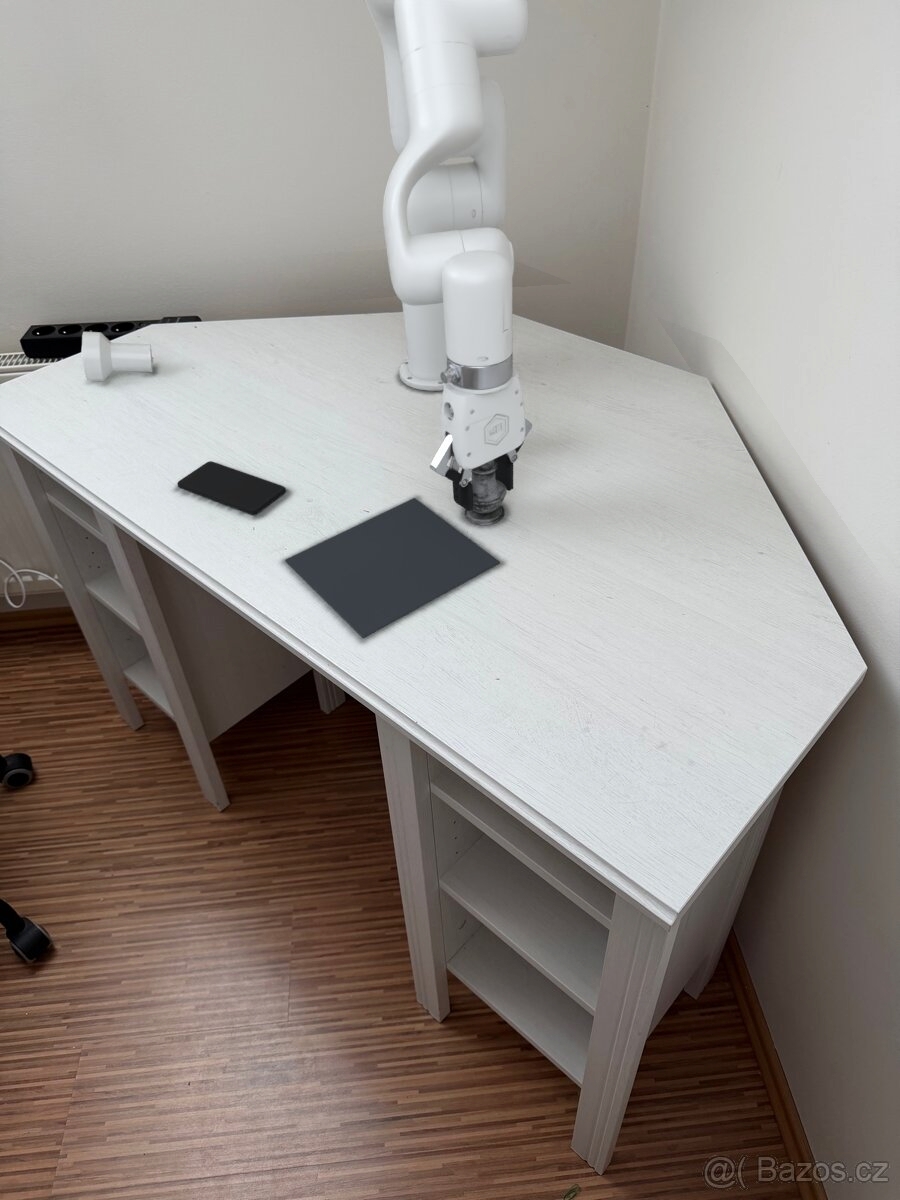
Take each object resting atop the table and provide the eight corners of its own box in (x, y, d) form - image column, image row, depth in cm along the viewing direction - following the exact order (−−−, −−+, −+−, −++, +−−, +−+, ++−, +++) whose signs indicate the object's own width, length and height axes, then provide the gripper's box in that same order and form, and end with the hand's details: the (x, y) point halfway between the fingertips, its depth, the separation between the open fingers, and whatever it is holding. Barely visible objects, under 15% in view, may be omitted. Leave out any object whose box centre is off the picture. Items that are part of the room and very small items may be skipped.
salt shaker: (503, 528, 107) (502, 448, 99) (458, 524, 108) (453, 445, 100) (510, 501, 111) (509, 422, 103) (466, 498, 112) (462, 420, 104)
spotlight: (87, 361, 147) (80, 321, 141) (154, 363, 150) (151, 324, 144) (84, 390, 142) (77, 349, 136) (154, 391, 145) (150, 352, 139)
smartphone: (209, 459, 122) (287, 486, 115) (210, 464, 122) (288, 491, 116) (174, 483, 117) (253, 512, 111) (176, 488, 118) (255, 517, 111)
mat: (414, 499, 113) (414, 497, 113) (499, 563, 102) (499, 561, 102) (285, 561, 104) (284, 559, 104) (362, 638, 93) (362, 636, 93)
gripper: (439, 404, 90) (448, 536, 102) (557, 353, 97) (553, 482, 109) (399, 380, 94) (413, 509, 106) (515, 333, 101) (515, 459, 114)
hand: (484, 494), depth 108 cm, fingers closed on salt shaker, 5 cm apart
